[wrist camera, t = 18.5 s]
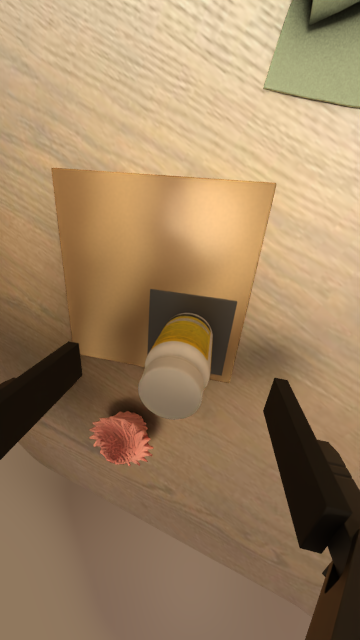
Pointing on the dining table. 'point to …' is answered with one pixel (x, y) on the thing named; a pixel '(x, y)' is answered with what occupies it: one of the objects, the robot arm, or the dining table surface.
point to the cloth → (319, 52)
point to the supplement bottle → (178, 367)
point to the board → (157, 258)
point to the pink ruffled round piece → (122, 438)
